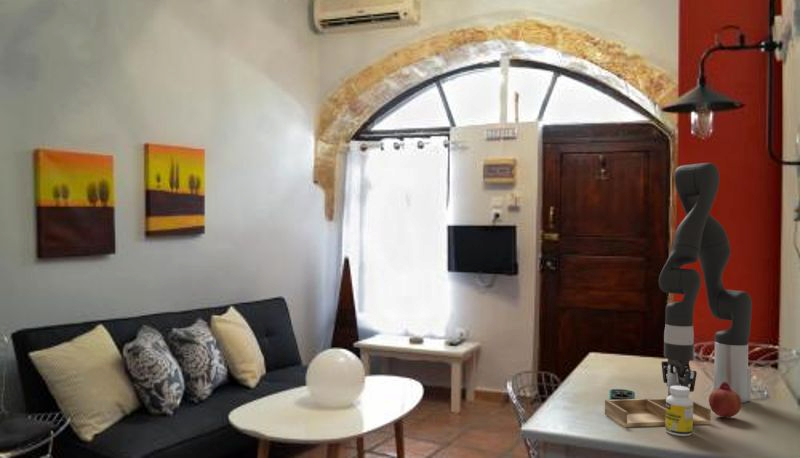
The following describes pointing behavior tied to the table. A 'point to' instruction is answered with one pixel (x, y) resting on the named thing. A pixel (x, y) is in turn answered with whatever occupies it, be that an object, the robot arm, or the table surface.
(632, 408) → the divided wooden tray
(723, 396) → the fruit
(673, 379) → the grey cylinder
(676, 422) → the pill bottle
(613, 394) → the digital multimeter
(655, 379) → the table surface
